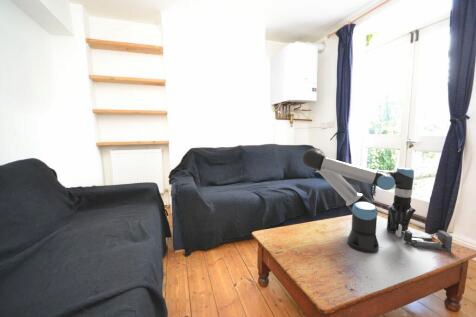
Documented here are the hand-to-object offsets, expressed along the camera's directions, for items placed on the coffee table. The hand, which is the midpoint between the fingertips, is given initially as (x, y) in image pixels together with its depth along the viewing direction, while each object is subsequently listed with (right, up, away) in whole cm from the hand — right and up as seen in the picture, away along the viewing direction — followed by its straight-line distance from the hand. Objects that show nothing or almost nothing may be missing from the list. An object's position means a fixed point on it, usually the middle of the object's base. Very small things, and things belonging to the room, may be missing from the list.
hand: (398, 235), depth 120 cm
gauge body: (+14, -4, -4) cm, 15 cm away
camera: (+10, -3, +14) cm, 17 cm away
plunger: (+7, -3, -2) cm, 8 cm away
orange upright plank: (+17, -3, -5) cm, 18 cm away
